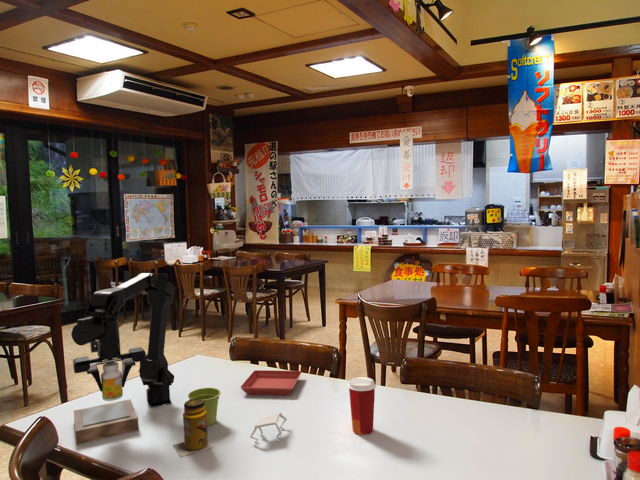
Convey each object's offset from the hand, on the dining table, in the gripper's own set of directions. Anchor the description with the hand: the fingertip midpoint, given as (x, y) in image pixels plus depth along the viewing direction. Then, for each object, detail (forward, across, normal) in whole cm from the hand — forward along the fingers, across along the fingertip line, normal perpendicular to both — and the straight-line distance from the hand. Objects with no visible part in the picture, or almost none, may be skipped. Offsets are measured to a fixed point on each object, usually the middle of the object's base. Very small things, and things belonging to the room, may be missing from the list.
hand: (112, 388), depth 140 cm
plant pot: (+13, -24, +10) cm, 28 cm away
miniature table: (+13, -37, +28) cm, 48 cm away
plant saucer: (+13, -52, -6) cm, 54 cm away
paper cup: (+13, -59, +40) cm, 72 cm away
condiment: (+12, -16, +22) cm, 30 cm away
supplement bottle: (+3, 0, 0) cm, 3 cm away
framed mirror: (+12, +2, -4) cm, 13 cm away
